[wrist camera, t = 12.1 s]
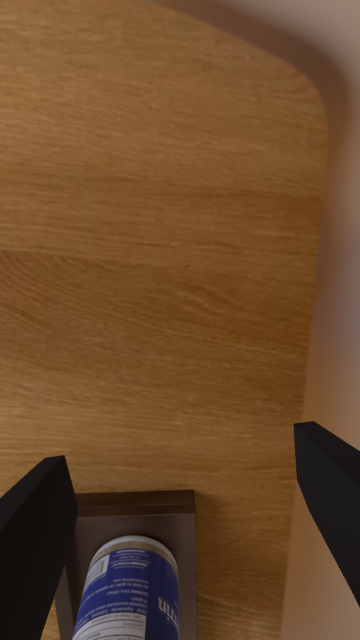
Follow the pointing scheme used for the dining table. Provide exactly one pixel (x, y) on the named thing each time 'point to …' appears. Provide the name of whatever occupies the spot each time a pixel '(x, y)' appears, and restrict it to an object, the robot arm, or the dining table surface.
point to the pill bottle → (130, 593)
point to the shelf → (125, 520)
